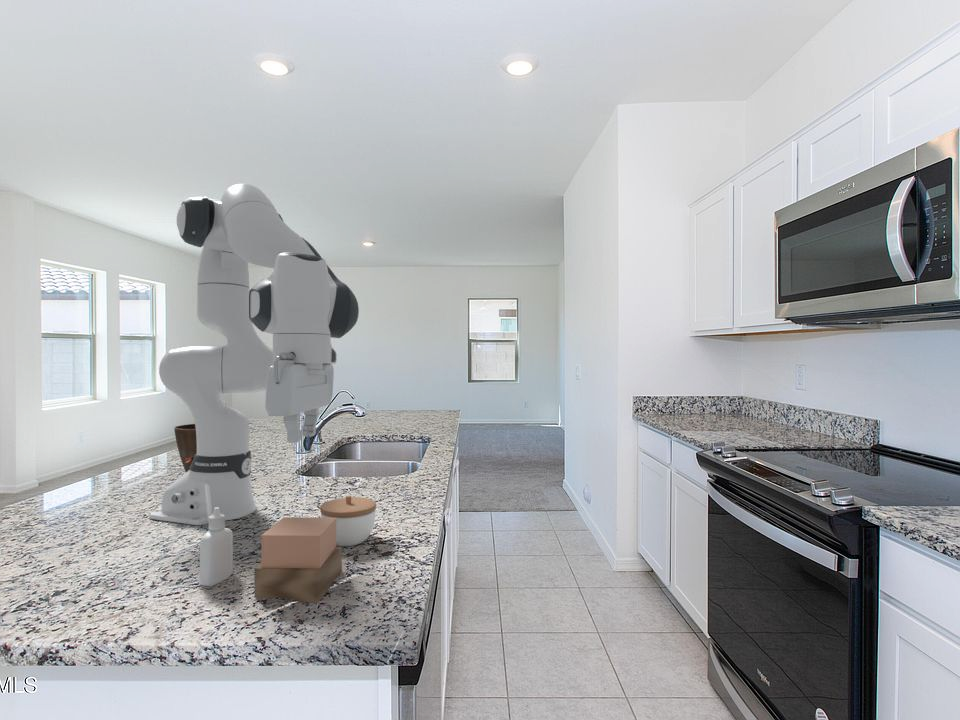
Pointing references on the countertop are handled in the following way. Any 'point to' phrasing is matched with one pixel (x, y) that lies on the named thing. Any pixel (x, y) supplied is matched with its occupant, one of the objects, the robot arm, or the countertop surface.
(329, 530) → the terracotta top block
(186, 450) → the plant pot
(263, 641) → the countertop surface
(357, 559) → the countertop surface
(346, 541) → the lidded jar
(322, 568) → the walnut base block
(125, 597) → the countertop surface
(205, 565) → the eye dropper bottle
